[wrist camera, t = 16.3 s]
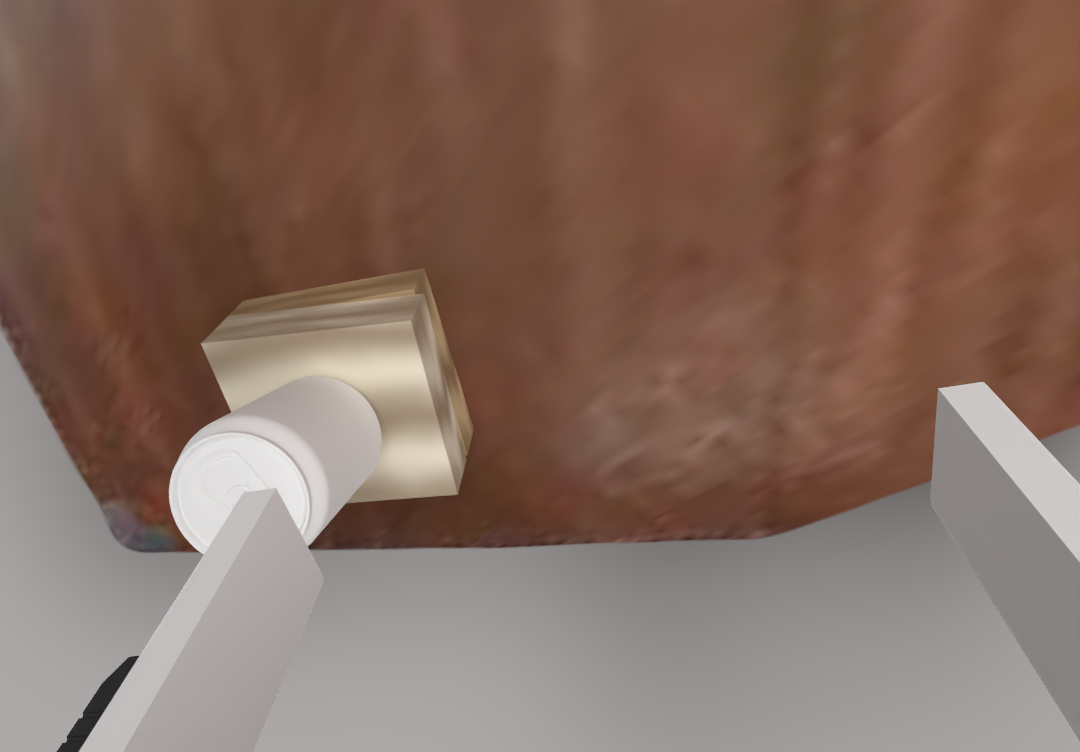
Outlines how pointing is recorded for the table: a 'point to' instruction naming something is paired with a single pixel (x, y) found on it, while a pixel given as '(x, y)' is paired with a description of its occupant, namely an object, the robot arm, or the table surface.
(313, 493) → the beverage can
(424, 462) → the top slab
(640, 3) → the table surface
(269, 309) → the bottom slab
